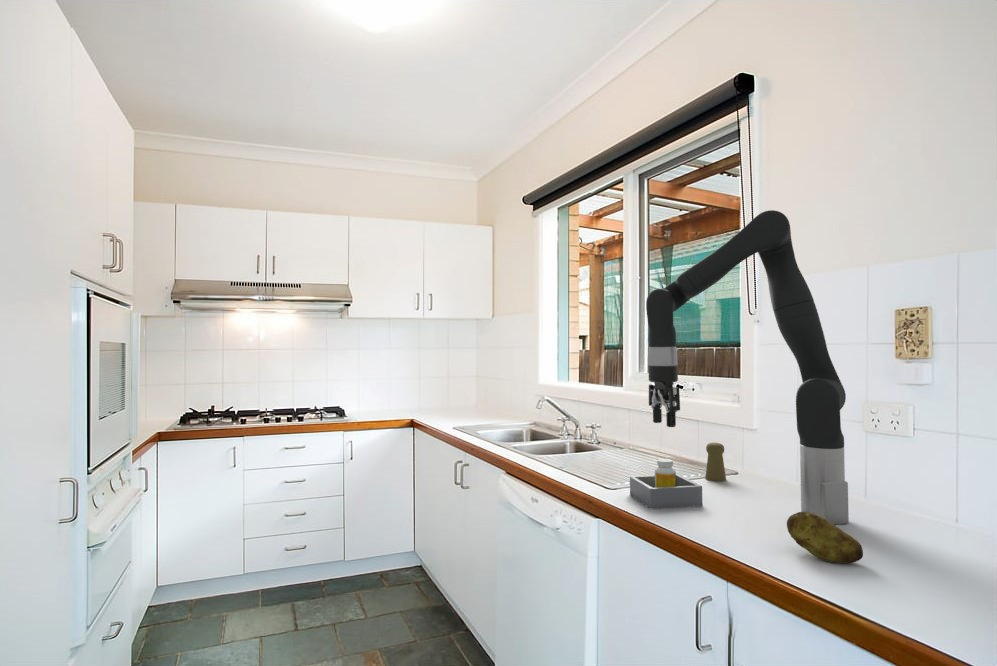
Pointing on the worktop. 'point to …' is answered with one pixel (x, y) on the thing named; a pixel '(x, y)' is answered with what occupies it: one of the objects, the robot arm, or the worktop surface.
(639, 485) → the box
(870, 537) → the worktop surface
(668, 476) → the supplement bottle
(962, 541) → the worktop surface
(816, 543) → the potato
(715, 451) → the cork
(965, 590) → the worktop surface
